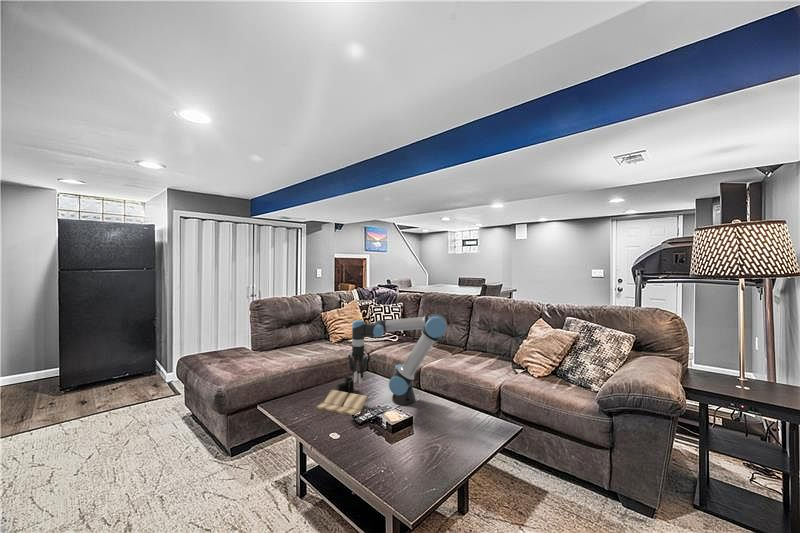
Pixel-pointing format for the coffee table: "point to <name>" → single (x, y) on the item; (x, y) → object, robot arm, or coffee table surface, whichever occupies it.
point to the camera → (346, 385)
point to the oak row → (338, 409)
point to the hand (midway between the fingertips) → (357, 382)
